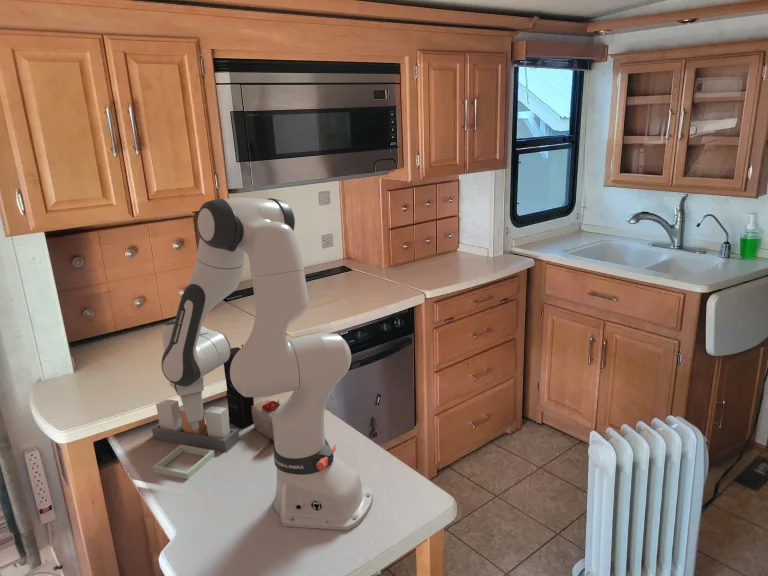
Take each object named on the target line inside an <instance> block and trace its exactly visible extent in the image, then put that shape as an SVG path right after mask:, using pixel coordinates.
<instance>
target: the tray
mask: <svg viewBox="0 0 768 576" xmlns="http://www.w3.org/2000/svg"><path fill="white" fill-rule="evenodd" d="M181 453H187V454H193V455H199V456H203V457H202V458H201V459H200V460H198V461H197V462H196V463H195V464H194V465H193V466H191V467H190V468H189V469H188V470H180V469H177V468H171V467H165V466H166V465H168V463H170V462H171V461H172V460H174V459H175V458H176V457H178V456H179V455H180V454H181ZM214 457H216V454H215V450H210V449H204V448H198V447H193V446H187V445H182V444H179V445H178V446H177V447H176V448H175V449H173V450H172V451H170V452H169V453H168V454H167V455H166V456H165V457H163V458H162V459H160V460H159V461H158V462H157V463H155V464H154V465H153V466H152V471H153V473H155V474H160V475H164V476H169V477H173V478H179V479H184V480H190V479H191V478H192V477H193V476H194V475H195V474H196V473H198V472H199V470H201V469H202V468H204V466H205V465H207V464H208V463H209V462H210V461H211V460H212V459H213V458H214Z"/></svg>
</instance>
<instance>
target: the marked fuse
mask: <svg viewBox="0 0 768 576" xmlns="http://www.w3.org/2000/svg"><path fill="white" fill-rule="evenodd" d="M179 409H180V416H181V420H182V424H183V430H184V432H186V433H192V434H198V435H200V434H201V433H202V432H203V431H205V430H206V427H205V424H206V419H205V412H203V419H202V420H201V421H198V424H199V428H198V429H194V430H193V429H192V427H191V423H189V422H188V420H187V417H186V414H185V410H184V407H183V405H181V406H179Z"/></svg>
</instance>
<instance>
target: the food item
mask: <svg viewBox="0 0 768 576" xmlns="http://www.w3.org/2000/svg"><path fill="white" fill-rule="evenodd" d="M279 401H280V399H278V400H277V401H275V400H267V399H266V400H261V401H258V402H256V403H254V405H253V406H251V408H252V418H253V419H252V420H253V422H254V424H253V427H254V430H255V431H257V433H259V434H261V435H263V436H265V438H268V439H269V440H270V441H272V442H274V434H273V425H272V419H273V415H274V413H275V411H276V409H277V408H278V406H279V405H281V404H282V403H280V402H279Z"/></svg>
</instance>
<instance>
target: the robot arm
mask: <svg viewBox="0 0 768 576" xmlns="http://www.w3.org/2000/svg"><path fill="white" fill-rule="evenodd" d="M295 226H296V219H295V215H294V212H293V209H292V207H291V206H290V205H289V204H288V203H287V202H285V200H284V201H283V200H281V199H278V198H277V199H276V198H272V197H271V198H261V197H259V198H258V197H248V196H247V197H246V196H242V197H241V196H240V197H230V198H224V199H223V198H215V199H210V200H207V201H205V202H203V204H202V205H201V206H200V208H199V210H198V211H197V215H196V227H197V233H198V235H199V241H198V246H197V251H196V252H197V253H196V259H195V264H194V268H193V271H192V274H191V277H190V279H189V282H188V284H187V286H186V287H185V289H184V291H183V293H182V296H181V297H180V301H179V305H178V308H177V312H176V315H175V318H173V319H171V320H168V321H167V322H165V323H164V324H163V327H162V345H163V351H164V352H163V354H162V356H161V371H162V374H163V376H164V378H165V379H167V381H169V383H168V384H169V385H170V387H172V389H174V390H175V392H176V394H177V396H178V397H179V398H180V400H181V403H182V406H183V407H184V410H185V414H186V417H187V420H188V422H189V423H191V427H192V429H193V430H194V429H198V428H199V424H198V421H201V420H202V419H203V413H204V405H203V403H204V401H203V391H205V389H204V388H205V386H204V380H205V376H206V375H207V374H209V373H211V372H213V371H215V369H218V368H219V367H220V366H222V365H224V363H225V362H227V361H228V360H229V358H230V354H231V344H230V342H229V339H228V338H227V336H226V335H225V334H223V333H222V332H220V331H219V330H215V329H214V330H213V329H210V328H206V327H205V326H203V323H204V321H205V319H206V317H207V316H208V314H209V313H210V312H211V311H212V309H214V308H215V306H217V305H218V304H219V303H220V302H222V301H223V300H224V299H225V298H227V297H229V296H230V295H231V294H233V293H234V292H235V290H237V288H238V287H239V285H240V282H241V280H242V278H243V274H244V270H245V261H246V254H247V256H248V260H249V267H250V275H251V283H252V288H253V296H254V297H253V298H254V309H255V310H254V311H255V312H254V313H255V314H254V315H255V316H254V323H253V327H252V330H251V332H250V335H249V336H248V338H247V340H246V341H245V343H244V344H243V345H244V346H243V347H242V346H241V347H240V348H241V349H240V350H239V351H238V352H237V353H236V355H235V356H234V358H233V360H232V363H231V366H230V378H231V381H232V384H233V386H234V387H235V389H236V390H237V391H238V392H239V393H240V394H241V395H243V396H244V397H253V398H265V397H268V398H269V397H271V396H275V395H280V394H284V393H288V392H292V393H291V395H289V396H288V398H286V399H285V400H284V401H283V402H282V403H280V404H281V405H279V406H278V408H277V409H276V411H275V413H274V415H273V419H272V425H273V434H274V441H273V443H274V445H273V459H274V460H273V462H274V466H275V467H276V485H275V486H276V489H275V495H274V500H273V507H274V510H275V511H276V513H277V514H278V515H279V516H280V522H281V524H282V525H283V526H284V527H293V528H294V527H295V528H296V527H297V528H307V529H308V528H309V529H310V528H311V529H323V530H336V531H337V530H338V531H339V530H340V531H349V530H351V529H353V528H355V527H356V526H357V525H359V523H361V522H362V521H363V519H365V517H366V516H367V514H368V512H369V511H370V509H371V507H372V505H373V500H374V495H373V490H372V489H371V488H370V487H367V486H364V485H362V481H361V478H360V475H359V473H358V472H357V471H356V470H354V469H353V468H351V467H350V466H348V464H346V462H343V461H342V460H341V459H339V458H338V457H336V456H335V455H334V453H335V451H336V450H337V447H336V446H337V444H334V445H333V446H332V447H331V446H330V444H329V443H328V440H327V439H326V437H325V436H326V435H325V410H326V405H327V402H328V400H329V398H330V396H331V393H332V391H333V390H334V389H335V387H336V385H337V384H338V383H339V382H340V381H341V380H342V378H344V377H345V376H346V375H347V373H348V371H349V369H350V368H351V362H352V352H351V349H350V346H349V344H348V343H347V341H346V339H344V338H343V337H342V336H341V335H340V334H338V333H329V332H328V333H321V332H320V333H313V334H306V335H302V336H297V337H292V338H287V336H286V335H287V331H288V328H289V327H290V326H291V325H292V324H293V323H294V322H295V321H297V320H298V319H300V318H301V317H302V316H304V314H305V313H306V312H307V310H308V308H309V304H310V300H309V292H308V286H307V281H306V273H305V268H304V263H303V258H302V254H301V250H300V245H299V243H298V240H297V238H296V235H295V232H294V230H295Z"/></svg>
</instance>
